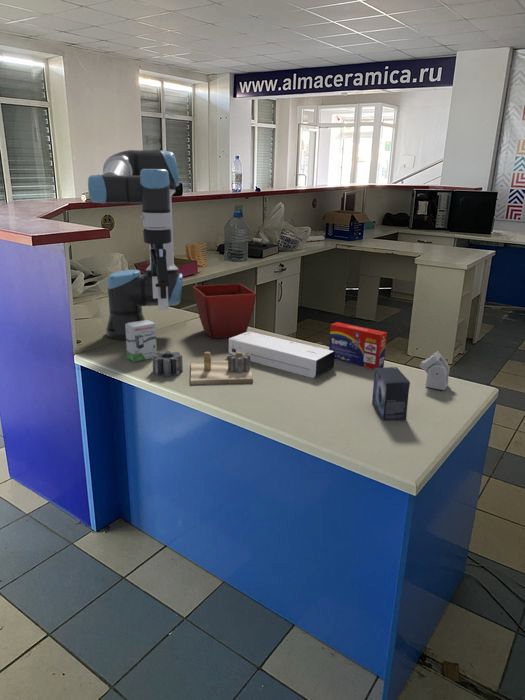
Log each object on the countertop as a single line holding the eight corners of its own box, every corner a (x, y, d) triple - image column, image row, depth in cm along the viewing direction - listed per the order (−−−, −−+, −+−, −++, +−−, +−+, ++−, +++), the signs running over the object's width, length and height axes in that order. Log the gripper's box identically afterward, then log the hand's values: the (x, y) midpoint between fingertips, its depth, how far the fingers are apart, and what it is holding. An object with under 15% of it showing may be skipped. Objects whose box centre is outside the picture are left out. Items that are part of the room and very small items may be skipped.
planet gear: (154, 366, 165) (153, 351, 164) (183, 365, 166) (182, 350, 165) (152, 377, 157) (151, 361, 155) (182, 376, 158) (181, 360, 156)
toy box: (383, 367, 168) (387, 332, 165) (377, 370, 165) (381, 335, 162) (334, 354, 179) (336, 321, 175) (328, 357, 176) (330, 324, 172)
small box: (369, 403, 142) (373, 366, 138) (393, 402, 142) (397, 366, 139) (381, 421, 132) (385, 382, 128) (407, 420, 132) (411, 381, 129)
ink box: (133, 362, 168) (131, 326, 164) (126, 358, 172) (124, 323, 168) (157, 357, 173) (156, 322, 170) (150, 353, 177) (148, 319, 173)
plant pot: (240, 324, 212) (240, 282, 207) (256, 338, 195) (257, 293, 190) (193, 328, 205) (192, 285, 200) (206, 342, 189) (205, 296, 183)
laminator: (334, 369, 167) (335, 350, 165) (314, 381, 157) (315, 361, 155) (248, 347, 185) (248, 330, 183) (226, 357, 176) (225, 339, 174)
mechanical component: (444, 391, 150) (448, 358, 147) (416, 385, 154) (420, 353, 151) (448, 385, 155) (452, 353, 151) (421, 380, 158) (424, 348, 155)
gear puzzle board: (191, 365, 167) (190, 344, 165) (248, 363, 169) (248, 343, 167) (190, 384, 152) (190, 362, 150) (252, 382, 154) (253, 361, 152)
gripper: (139, 223, 155) (143, 294, 162) (147, 233, 133) (151, 315, 140) (165, 223, 157) (167, 293, 164) (177, 233, 135) (180, 313, 142)
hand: (160, 303), depth 152 cm, fingers open, 13 cm apart
